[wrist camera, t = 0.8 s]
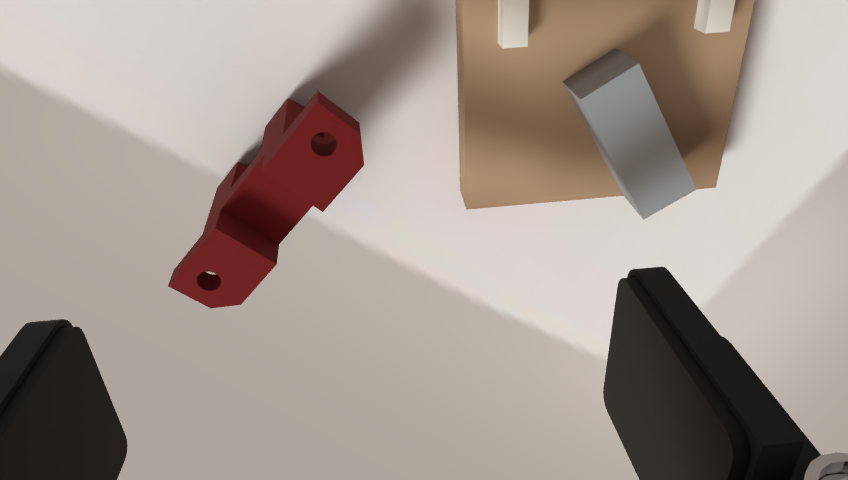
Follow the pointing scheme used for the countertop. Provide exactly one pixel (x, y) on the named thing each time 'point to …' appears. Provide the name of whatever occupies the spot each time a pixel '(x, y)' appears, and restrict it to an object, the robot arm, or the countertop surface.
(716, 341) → the robot arm
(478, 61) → the jig
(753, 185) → the countertop surface
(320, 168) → the bracket
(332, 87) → the countertop surface
